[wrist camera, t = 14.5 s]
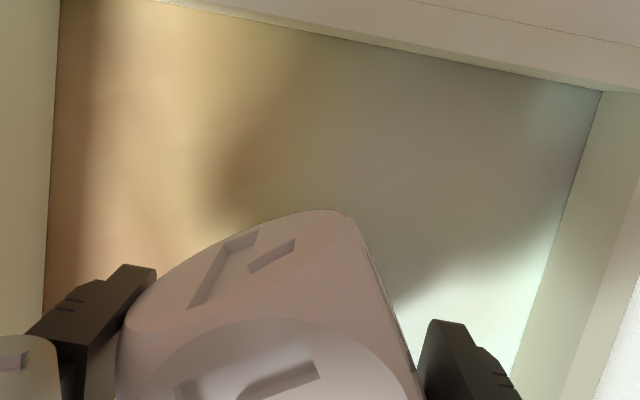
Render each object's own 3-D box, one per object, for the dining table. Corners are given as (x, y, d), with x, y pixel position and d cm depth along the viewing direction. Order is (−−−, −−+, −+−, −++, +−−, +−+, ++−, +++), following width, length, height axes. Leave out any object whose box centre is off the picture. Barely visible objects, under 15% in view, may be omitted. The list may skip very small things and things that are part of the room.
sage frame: (642, 65, 13) (718, 64, 10) (480, 541, 17) (508, 621, 14) (30, -61, 12) (-43, -94, 10) (7, 468, 16) (-50, 540, 13)
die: (344, 188, 12) (360, 263, 7) (412, 354, 13) (465, 512, 9) (164, 260, 13) (69, 375, 8) (244, 415, 14) (204, 597, 9)
